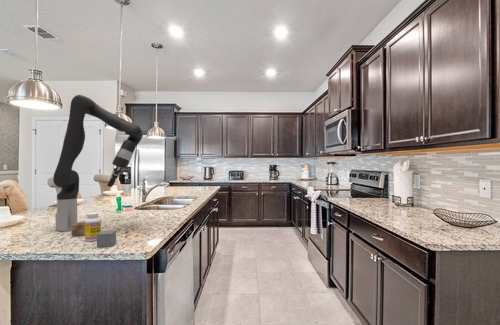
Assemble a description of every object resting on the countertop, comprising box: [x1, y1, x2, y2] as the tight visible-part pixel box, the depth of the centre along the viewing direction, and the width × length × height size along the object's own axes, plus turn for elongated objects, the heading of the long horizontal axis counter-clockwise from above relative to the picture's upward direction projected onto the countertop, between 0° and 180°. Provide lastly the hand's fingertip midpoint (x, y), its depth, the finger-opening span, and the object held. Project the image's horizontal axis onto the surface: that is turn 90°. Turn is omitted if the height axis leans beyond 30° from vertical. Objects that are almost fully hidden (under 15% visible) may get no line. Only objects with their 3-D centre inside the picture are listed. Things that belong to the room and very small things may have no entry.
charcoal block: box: [96, 229, 117, 249], centre depth 114 cm, size 6×6×6 cm
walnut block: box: [71, 221, 85, 238], centre depth 130 cm, size 6×6×6 cm
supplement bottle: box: [84, 211, 102, 242], centre depth 122 cm, size 7×7×13 cm
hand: (109, 186), depth 133 cm, fingers open, 8 cm apart
